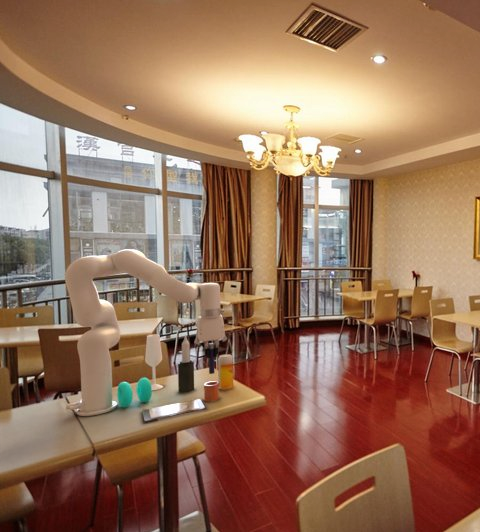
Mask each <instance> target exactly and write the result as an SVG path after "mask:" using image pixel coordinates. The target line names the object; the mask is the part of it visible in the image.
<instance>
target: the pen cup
mask: <svg viewBox="0 0 480 532" xmlns="http://www.w3.org/2000/svg"><path fill="white" fill-rule="evenodd" d="M219 398H220V389H219V382H218V380H217V381H216V380H215V381H214V380H213V381H207V382H205V383H204V384H203V400H204V402H214V401H217V400H219Z"/></svg>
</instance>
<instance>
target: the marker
mask: <svg viewBox="0 0 480 532" xmlns="http://www.w3.org/2000/svg"><path fill="white" fill-rule="evenodd" d="M208 347H209V355H210V358H208V374H209V375H213V374H215V357H214V342H208Z"/></svg>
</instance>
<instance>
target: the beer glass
mask: <svg viewBox="0 0 480 532" xmlns="http://www.w3.org/2000/svg"><path fill="white" fill-rule="evenodd" d="M217 368H218V369H217V371H218V373H217V374H218V377H217V378H218V380H217V382H219V390H222V391H225V390H226V391H227V390H230V389H233V387H234V357H233V355H232V354H231V353H230V354H229V353H225V354H221V355H219V356H218V358H217Z"/></svg>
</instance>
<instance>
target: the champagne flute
mask: <svg viewBox="0 0 480 532" xmlns="http://www.w3.org/2000/svg"><path fill="white" fill-rule="evenodd" d="M145 343H146V345H145V355H144V362H145V364H147V365H148V366H149V367H151V370H152V372H151V373H152V384H151V387H152V391H157V390H161V389H163V388H164V386H163V385H161V384H159V383H157V379H156V378H157V377H156V375H157V373H156V367H157V366H159V365H160V364H161V362H162V361H163V352H162V344H161V337H160V334H158V333H157V334H155V333H153V334H148V335H147V336H146V342H145Z"/></svg>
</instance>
